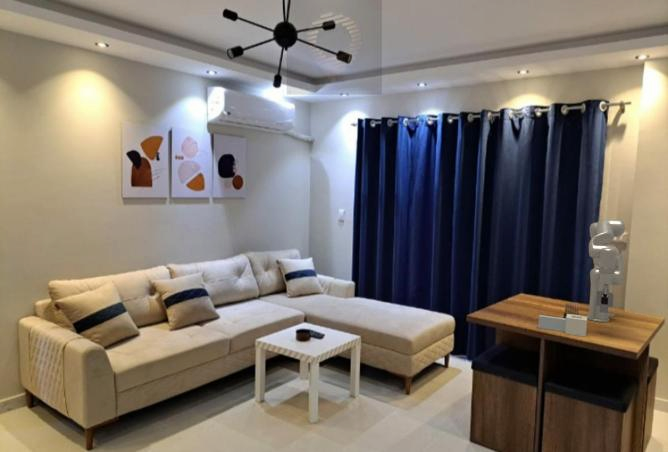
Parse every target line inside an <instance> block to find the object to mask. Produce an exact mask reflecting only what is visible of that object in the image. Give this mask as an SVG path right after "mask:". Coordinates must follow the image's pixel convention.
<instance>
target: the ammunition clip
mask: <svg viewBox="0 0 668 452" xmlns="http://www.w3.org/2000/svg"><path fill="white" fill-rule="evenodd" d="M567 314H572V315H579V306H578V305H576V304H574V303H570V302H568V301H566V302H565V306H564V313H563V318H565V319H566V317H567Z"/></svg>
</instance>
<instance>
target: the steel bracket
mask: <svg viewBox="0 0 668 452" xmlns="http://www.w3.org/2000/svg"><path fill="white" fill-rule="evenodd" d="M614 296H615V295H614V292H611V291H610V292H608V305H605V304H601V297H602V292H601V291H597V294H596V306H600V310H599V312H601V313H609V308H613V306H614Z"/></svg>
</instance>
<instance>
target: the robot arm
mask: <svg viewBox="0 0 668 452" xmlns="http://www.w3.org/2000/svg"><path fill="white" fill-rule="evenodd" d="M625 230H626V225H625V223H624V221H623V220H621V219H605V218H603V219H600V220H598V221H597V222H593V223H591V224H590V226H589V236H590V241H589V243H588V254H589V257H591V258H592V261H593V264H594V266H596V267H594V268H592V269H591V270H590V272H589V277H590V278H589V279H590V298H589V307H588V308H589V309H588V310H589V312H588V314H587V315H585V316H587V320H590V321H594V322H597V323H598V322H599V323H609V322H610V318H611V317H613V318H614V317H615V316H616V315H615V313H609V312H608V313H601V312H599V310H600V306H596V294H597V291H601V292H602V297H601V304H605V305H608V292H611V287H612V286H622V285H623V283H624V274H625V273H624V270H625V269H624V256H623V254H622V253H621V252H619V249H618V248H617V247H616V246H614V245H610V243H612V242H613V241H614V239H615V238H621V237H622V236H623V235H624V233H625Z"/></svg>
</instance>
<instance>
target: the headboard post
mask: <svg viewBox="0 0 668 452" xmlns="http://www.w3.org/2000/svg"><path fill="white" fill-rule="evenodd" d="M537 324H538V325H537V326H538V327H537V328H538V329H541V330H542V329H543V330H548V331H556V332H561V333H565V335H571V336H572V335H573V336H579V337H583V336H584V338H586V337H587V329H588V328H587V327H588V319H587V316H586V315H580V314H578V315H572V314H567V317H566V319H565V318H564V317H556V316H549V315H542V314H539V316H538V323H537Z"/></svg>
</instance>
